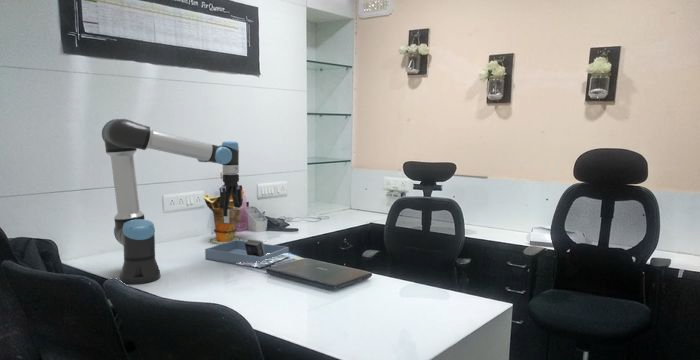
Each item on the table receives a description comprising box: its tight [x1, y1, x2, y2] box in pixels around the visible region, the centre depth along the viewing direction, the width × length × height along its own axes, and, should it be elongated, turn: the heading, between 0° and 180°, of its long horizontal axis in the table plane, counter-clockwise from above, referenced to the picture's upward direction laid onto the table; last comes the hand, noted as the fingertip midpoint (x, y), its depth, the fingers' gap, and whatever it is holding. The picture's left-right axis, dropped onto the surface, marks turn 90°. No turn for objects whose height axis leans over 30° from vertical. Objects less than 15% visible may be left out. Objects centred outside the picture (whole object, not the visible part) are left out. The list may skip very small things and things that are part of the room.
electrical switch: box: [245, 238, 266, 257], centre depth 227 cm, size 9×5×9 cm, turn 57°
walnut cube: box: [222, 209, 242, 224], centre depth 232 cm, size 6×6×6 cm
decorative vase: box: [202, 190, 245, 245], centre depth 265 cm, size 21×23×28 cm
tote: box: [204, 240, 290, 265], centre depth 230 cm, size 22×32×5 cm
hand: (231, 221), depth 233 cm, fingers closed on walnut cube, 6 cm apart
